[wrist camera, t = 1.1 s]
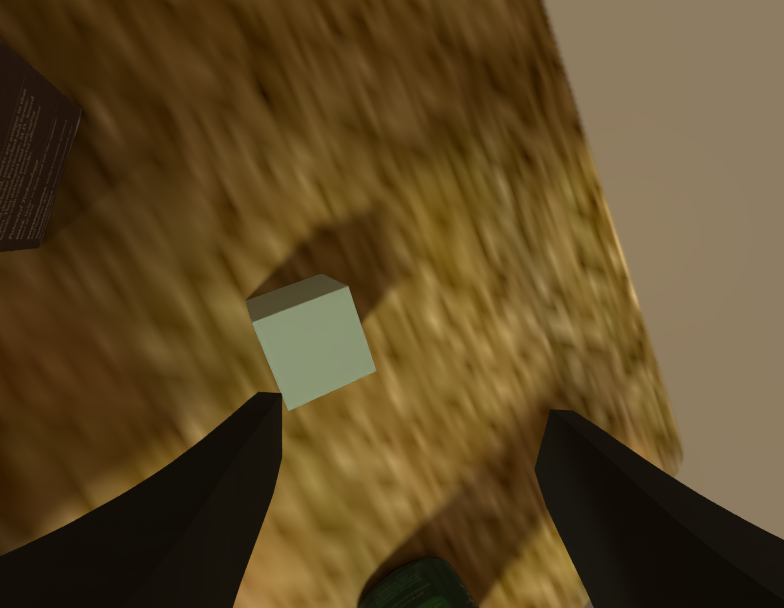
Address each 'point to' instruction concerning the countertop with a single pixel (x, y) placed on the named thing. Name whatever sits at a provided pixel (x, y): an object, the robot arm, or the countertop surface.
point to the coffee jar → (420, 588)
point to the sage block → (311, 338)
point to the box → (30, 149)
